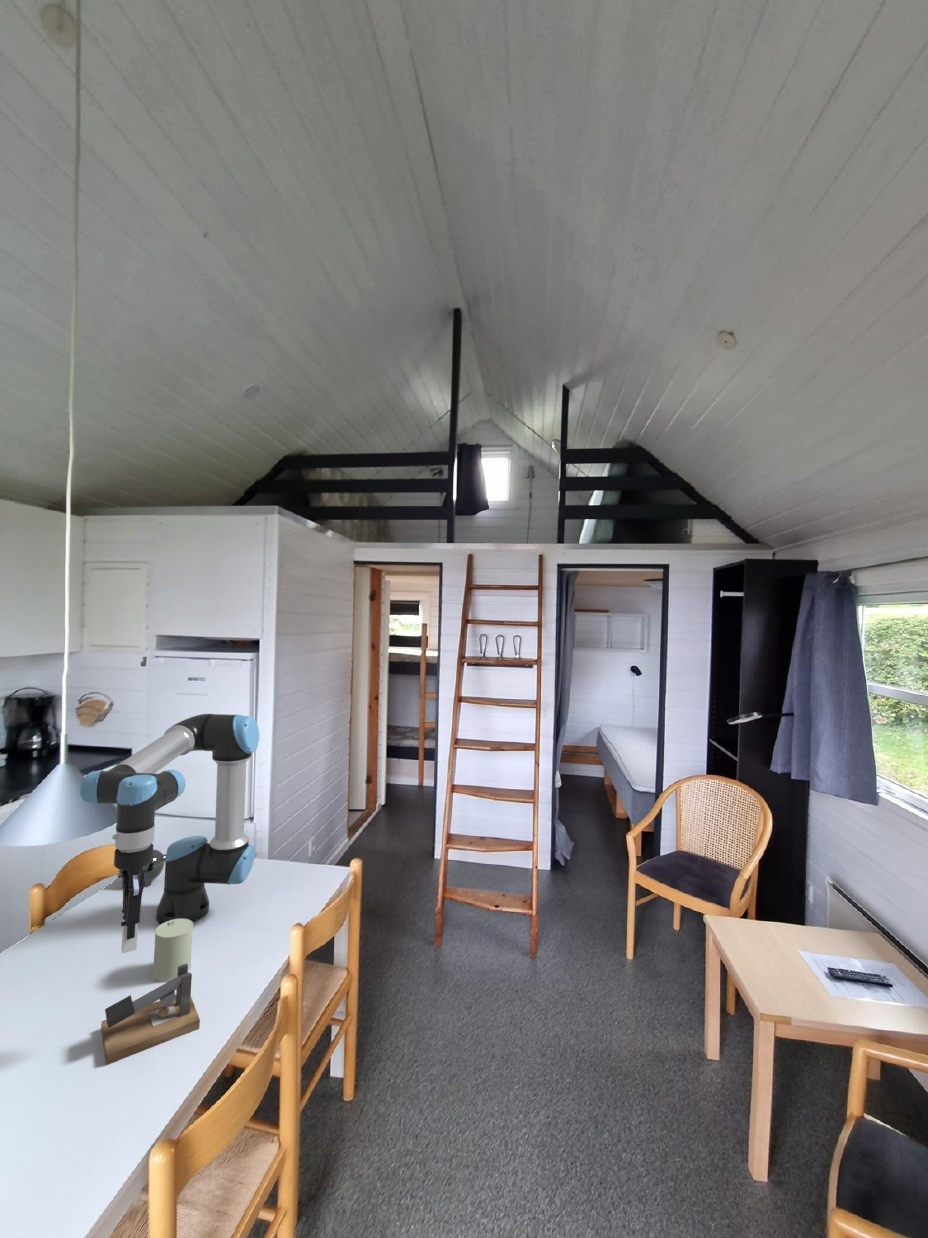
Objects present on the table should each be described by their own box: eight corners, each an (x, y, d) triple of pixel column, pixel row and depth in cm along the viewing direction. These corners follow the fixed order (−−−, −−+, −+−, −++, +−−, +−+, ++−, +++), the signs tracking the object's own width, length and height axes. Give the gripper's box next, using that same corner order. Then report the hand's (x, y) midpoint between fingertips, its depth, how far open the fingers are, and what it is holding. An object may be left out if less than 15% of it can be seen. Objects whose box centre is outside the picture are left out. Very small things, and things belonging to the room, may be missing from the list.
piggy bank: (124, 877, 192) (126, 845, 193) (170, 874, 196) (172, 843, 196) (112, 892, 181) (114, 858, 182) (160, 888, 185) (162, 855, 185)
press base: (101, 1030, 121) (104, 981, 121) (188, 999, 132) (190, 954, 132) (106, 1065, 111) (109, 1012, 112) (199, 1028, 123) (202, 980, 123)
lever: (109, 1026, 119) (104, 1009, 118) (190, 980, 129) (186, 964, 128) (111, 1040, 115) (107, 1022, 114) (194, 992, 125) (190, 975, 124)
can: (184, 956, 149) (187, 913, 149) (195, 972, 142) (198, 927, 142) (147, 969, 142) (150, 924, 143) (157, 987, 136) (160, 939, 136)
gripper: (111, 839, 123) (106, 941, 123) (117, 860, 113) (112, 971, 113) (148, 833, 128) (143, 930, 128) (158, 852, 118) (152, 959, 117)
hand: (129, 950), depth 120 cm, fingers closed
